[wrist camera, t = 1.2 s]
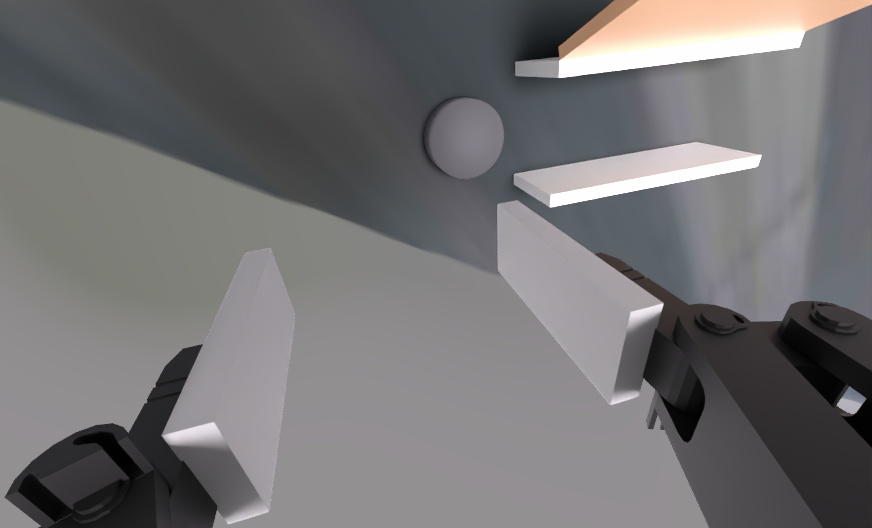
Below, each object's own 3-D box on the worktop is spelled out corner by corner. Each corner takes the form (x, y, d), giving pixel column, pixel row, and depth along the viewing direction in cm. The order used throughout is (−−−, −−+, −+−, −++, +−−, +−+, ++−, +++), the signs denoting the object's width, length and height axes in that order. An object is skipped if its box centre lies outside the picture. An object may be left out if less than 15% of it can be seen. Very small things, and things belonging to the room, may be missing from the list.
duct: (515, 61, 29) (559, 60, 23) (722, 37, 32) (804, 31, 27) (513, 184, 34) (549, 207, 28) (693, 151, 37) (757, 166, 32)
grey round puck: (419, 102, 28) (427, 104, 26) (490, 92, 29) (503, 93, 27) (428, 176, 31) (435, 184, 29) (492, 165, 32) (504, 172, 30)
